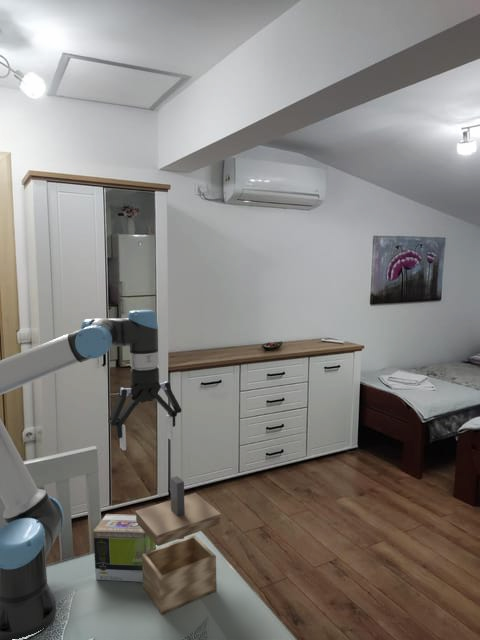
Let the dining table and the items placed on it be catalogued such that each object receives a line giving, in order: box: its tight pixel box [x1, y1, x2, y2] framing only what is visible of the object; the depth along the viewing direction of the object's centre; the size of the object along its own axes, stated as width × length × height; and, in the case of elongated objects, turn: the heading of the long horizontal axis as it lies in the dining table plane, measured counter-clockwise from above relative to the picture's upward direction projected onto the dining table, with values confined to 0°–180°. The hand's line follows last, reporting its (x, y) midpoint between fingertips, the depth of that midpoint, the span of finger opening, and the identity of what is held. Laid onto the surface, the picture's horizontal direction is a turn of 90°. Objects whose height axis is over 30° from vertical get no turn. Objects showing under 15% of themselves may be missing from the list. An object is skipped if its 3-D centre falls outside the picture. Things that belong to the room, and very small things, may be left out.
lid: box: [134, 475, 222, 547], centre depth 125 cm, size 18×14×12 cm
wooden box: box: [142, 534, 218, 616], centre depth 127 cm, size 16×12×10 cm
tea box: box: [92, 513, 157, 583], centre depth 135 cm, size 15×10×15 cm, turn 84°
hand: (147, 443), depth 129 cm, fingers open, 13 cm apart
